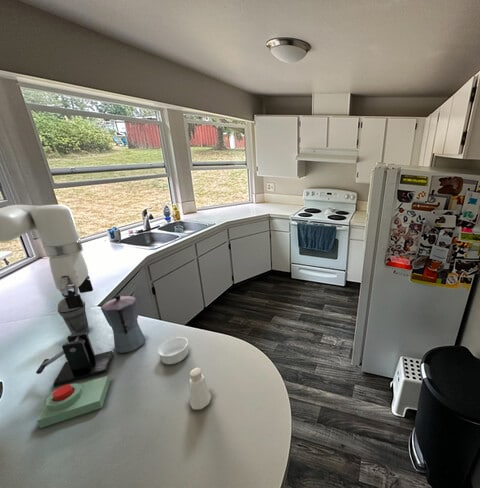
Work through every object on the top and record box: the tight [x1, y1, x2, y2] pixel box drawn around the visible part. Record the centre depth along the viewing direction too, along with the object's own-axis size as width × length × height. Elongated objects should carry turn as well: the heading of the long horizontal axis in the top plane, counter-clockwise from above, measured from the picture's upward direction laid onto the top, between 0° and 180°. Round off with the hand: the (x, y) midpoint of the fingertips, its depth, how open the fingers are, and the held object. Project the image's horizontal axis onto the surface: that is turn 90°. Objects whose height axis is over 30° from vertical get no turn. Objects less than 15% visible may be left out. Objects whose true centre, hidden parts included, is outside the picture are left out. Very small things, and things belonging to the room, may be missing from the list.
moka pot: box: [100, 294, 146, 354], centre depth 86 cm, size 10×15×20 cm, turn 45°
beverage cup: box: [57, 297, 90, 335], centre depth 91 cm, size 7×7×20 cm
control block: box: [36, 375, 111, 429], centre depth 68 cm, size 12×9×4 cm
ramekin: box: [157, 336, 189, 365], centre depth 85 cm, size 9×9×4 cm
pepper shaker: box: [188, 367, 212, 410], centre depth 69 cm, size 5×5×11 cm
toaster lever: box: [35, 337, 86, 375], centre depth 75 cm, size 12×5×2 cm
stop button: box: [51, 384, 73, 401], centre depth 66 cm, size 4×4×2 cm
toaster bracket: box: [52, 332, 114, 388], centre depth 78 cm, size 12×9×12 cm
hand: (81, 299), depth 78 cm, fingers open, 9 cm apart
